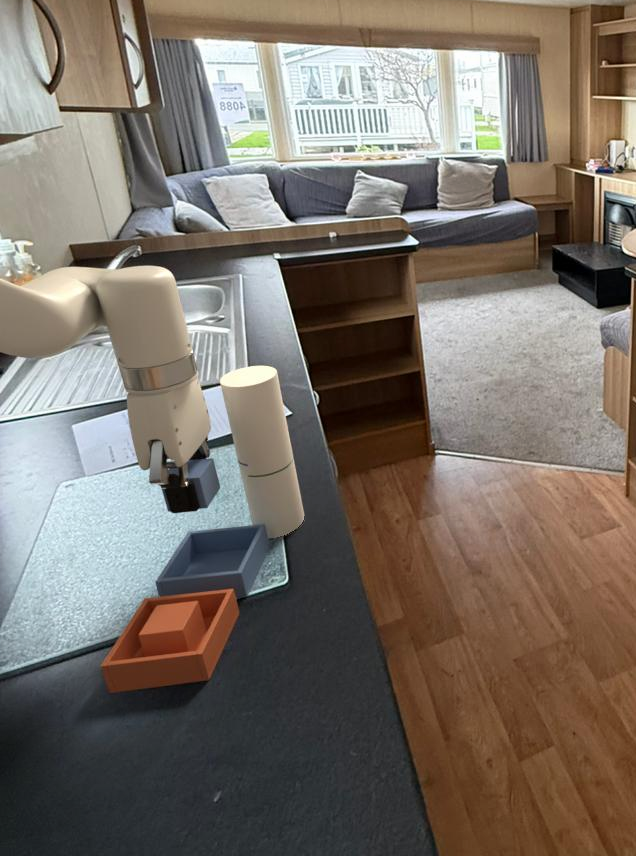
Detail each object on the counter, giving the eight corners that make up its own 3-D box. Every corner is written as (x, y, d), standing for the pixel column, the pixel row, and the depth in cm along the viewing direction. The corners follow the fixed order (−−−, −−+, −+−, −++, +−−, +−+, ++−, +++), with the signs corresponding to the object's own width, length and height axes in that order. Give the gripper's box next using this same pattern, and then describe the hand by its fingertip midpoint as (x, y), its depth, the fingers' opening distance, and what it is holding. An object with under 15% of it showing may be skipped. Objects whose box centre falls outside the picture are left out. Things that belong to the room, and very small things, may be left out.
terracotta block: (147, 665, 75) (137, 635, 73) (165, 634, 79) (156, 605, 77) (191, 660, 75) (182, 630, 74) (206, 629, 80) (198, 600, 78)
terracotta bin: (109, 693, 72) (100, 666, 70) (152, 623, 81) (144, 598, 80) (209, 680, 74) (201, 653, 72) (239, 613, 83) (233, 588, 81)
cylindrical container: (283, 504, 104) (254, 362, 95) (315, 517, 101) (288, 371, 92) (243, 530, 98) (208, 380, 89) (275, 544, 95) (242, 390, 86)
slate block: (168, 512, 82) (159, 481, 80) (183, 491, 86) (175, 461, 84) (207, 508, 82) (199, 477, 81) (220, 487, 87) (213, 457, 85)
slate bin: (162, 606, 84) (155, 582, 82) (194, 554, 93) (188, 531, 92) (247, 597, 85) (241, 572, 84) (269, 546, 95) (265, 523, 93)
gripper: (158, 346, 85) (190, 465, 91) (85, 405, 69) (130, 544, 76) (219, 342, 86) (247, 460, 92) (162, 399, 70) (199, 537, 77)
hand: (194, 497), depth 84 cm, fingers closed on slate block, 4 cm apart
